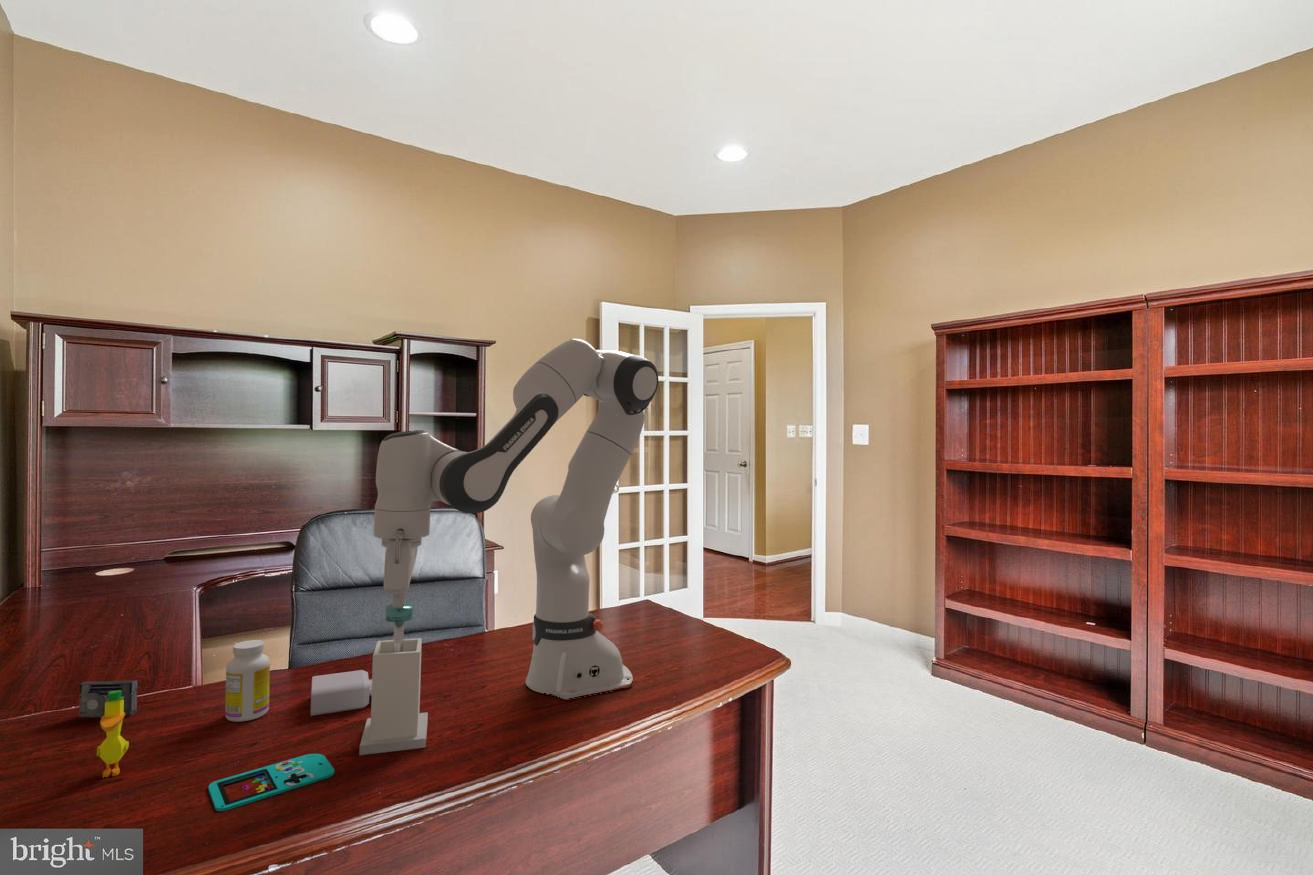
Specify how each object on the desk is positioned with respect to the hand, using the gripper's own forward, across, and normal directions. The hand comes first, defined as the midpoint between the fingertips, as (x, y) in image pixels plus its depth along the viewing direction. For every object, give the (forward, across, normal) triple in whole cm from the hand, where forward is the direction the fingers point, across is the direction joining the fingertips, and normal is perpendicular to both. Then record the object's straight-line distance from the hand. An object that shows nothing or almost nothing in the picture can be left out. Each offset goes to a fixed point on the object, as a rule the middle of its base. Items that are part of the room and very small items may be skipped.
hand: (399, 606), depth 107 cm
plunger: (+12, 0, 0) cm, 12 cm away
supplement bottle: (+23, +15, +26) cm, 38 cm away
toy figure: (+23, -2, +39) cm, 45 cm away
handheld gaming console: (+23, -10, +16) cm, 30 cm away
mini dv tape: (+23, +21, +49) cm, 58 cm away
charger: (+23, +17, +8) cm, 30 cm away
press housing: (+22, 0, 0) cm, 22 cm away
